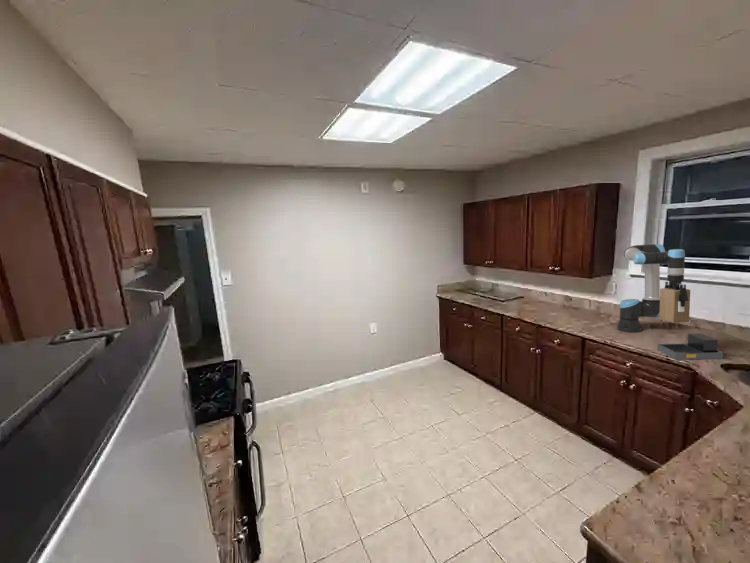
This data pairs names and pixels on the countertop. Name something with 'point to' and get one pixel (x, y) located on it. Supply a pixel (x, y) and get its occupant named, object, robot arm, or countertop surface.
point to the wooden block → (673, 306)
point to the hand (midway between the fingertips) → (674, 309)
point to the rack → (693, 348)
